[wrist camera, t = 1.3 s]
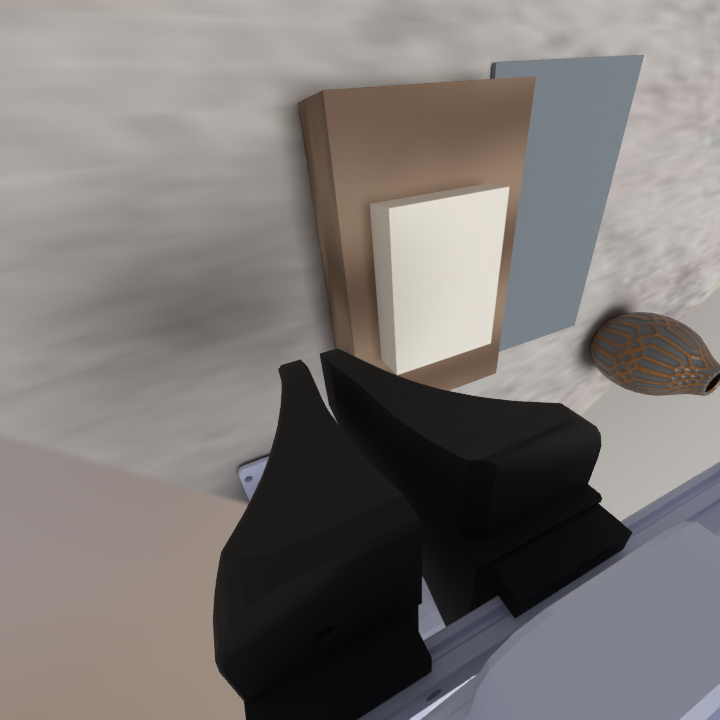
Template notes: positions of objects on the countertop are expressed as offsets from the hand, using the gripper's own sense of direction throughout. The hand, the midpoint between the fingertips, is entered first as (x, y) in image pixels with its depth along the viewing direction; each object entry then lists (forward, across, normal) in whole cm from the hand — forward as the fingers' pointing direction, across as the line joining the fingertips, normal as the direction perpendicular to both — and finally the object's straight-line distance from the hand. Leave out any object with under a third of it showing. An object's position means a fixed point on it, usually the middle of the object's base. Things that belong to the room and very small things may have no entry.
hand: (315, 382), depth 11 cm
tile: (+6, -8, 0) cm, 10 cm away
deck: (+9, -8, 0) cm, 13 cm away
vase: (+10, -30, +12) cm, 34 cm away
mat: (+9, -20, 0) cm, 22 cm away
